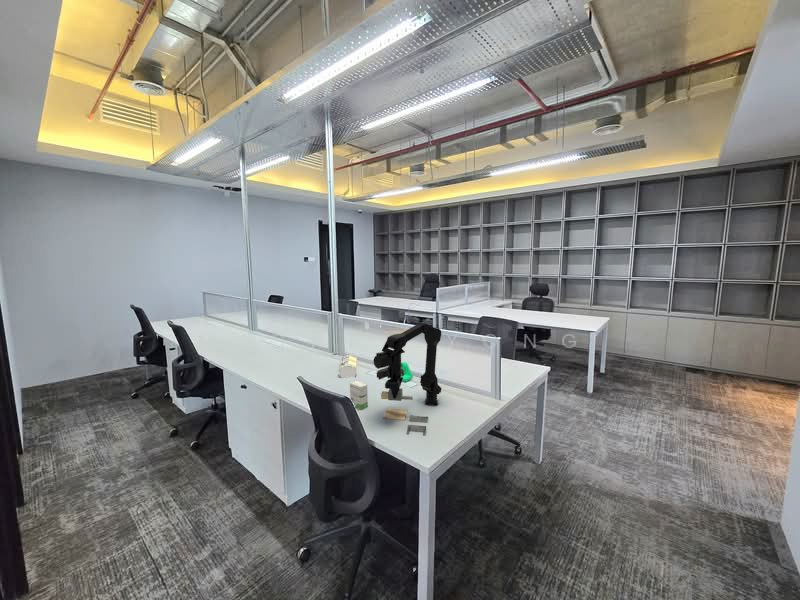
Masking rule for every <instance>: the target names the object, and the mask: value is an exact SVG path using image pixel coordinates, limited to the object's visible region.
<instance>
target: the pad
mask: <svg viewBox="0 0 800 600" xmlns="http://www.w3.org/2000/svg"><path fill="white" fill-rule="evenodd" d="M407 414H408V409H402V408H401V409H400V408H386V412H385V413H384V416H383V419H385V420H396V421H397V420H398V421H406V418H407Z"/></svg>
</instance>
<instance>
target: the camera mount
mask: <svg viewBox="0 0 800 600" xmlns="http://www.w3.org/2000/svg"><path fill="white" fill-rule="evenodd" d="M401 364H402V367H401V369H403V370H404V376H401V377H403V380H402V382H408V381H410V380H411V379H413V378H414V375H413V372H412V371H411V368H410V367H409V365H408V363H407V362H406V361H403V362H401Z"/></svg>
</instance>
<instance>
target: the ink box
mask: <svg viewBox="0 0 800 600" xmlns="http://www.w3.org/2000/svg"><path fill="white" fill-rule="evenodd" d="M349 392H350V395H349V398H350V399H351V400H352V402H353V403H354V405H355V407H354V408H357V409H359V410H361V411H362V410H364V409H366V408H368V406H369V404H368V403H369V402H368V400H369V398H368V397H369V396H368V384H366V383H364V382H361V381H360V380H359V381H358V380H355V381H352V382H349ZM350 399H349V400H350Z"/></svg>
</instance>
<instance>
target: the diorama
mask: <svg viewBox="0 0 800 600" xmlns="http://www.w3.org/2000/svg"><path fill="white" fill-rule="evenodd" d="M342 350H343V356H342V357H341V361H340V366H339V376H340V378H342V379H344V378H347V379H348V378H351V379H352V378H355V377H356V376H357V367H358V357H357V356H356V355H353V354H346V355H345V348H343V349H342ZM347 362H348V363H347Z"/></svg>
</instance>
